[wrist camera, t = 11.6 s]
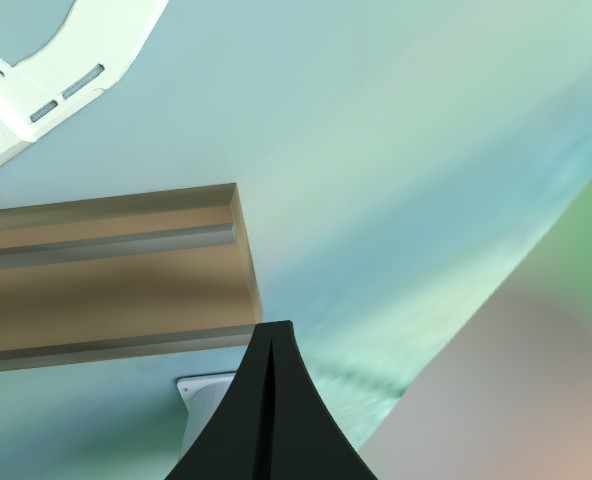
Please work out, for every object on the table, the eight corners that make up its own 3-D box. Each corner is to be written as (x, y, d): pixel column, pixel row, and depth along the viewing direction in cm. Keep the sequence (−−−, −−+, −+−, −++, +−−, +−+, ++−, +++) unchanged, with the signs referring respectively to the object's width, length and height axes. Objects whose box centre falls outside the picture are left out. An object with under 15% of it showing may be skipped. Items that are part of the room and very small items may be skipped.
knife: (294, -446, 10) (393, -115, 13) (291, -382, 11) (381, -99, 15) (-285, 110, 15) (-108, 239, 19) (-237, 105, 17) (-81, 225, 20)
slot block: (262, 311, 25) (260, 353, 22) (-35, 343, 25) (-81, 389, 22) (236, 182, 20) (227, 212, 16) (-137, 225, 20) (-217, 262, 17)
